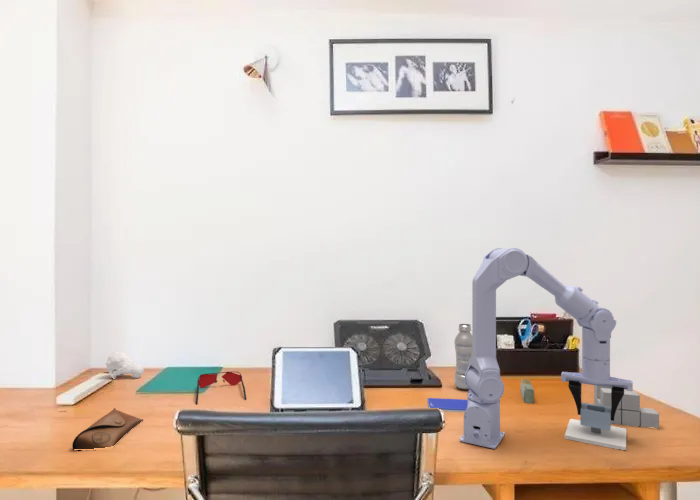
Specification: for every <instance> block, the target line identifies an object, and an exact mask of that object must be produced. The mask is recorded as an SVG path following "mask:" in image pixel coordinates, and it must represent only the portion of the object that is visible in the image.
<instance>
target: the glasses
mask: <svg viewBox="0 0 700 500" xmlns="http://www.w3.org/2000/svg"><path fill="white" fill-rule="evenodd" d="M220 374H223V375H222V376H221V378H222V381H223V383H228V385H230V386H236V385H238V384H239V383H241V386H242V389H243V390H242V391H243V398H244V401H247V395H246V393H247V392H246V388H245V385H244V381H243V375H242V373H240V372H239V371H236V372H233V371H223V372H220ZM217 378H218V372H209V373H202V374H200V375H199V377H198V378H197V380H196V382H197V385H196V395H195V396H196V397H195V405H198V403H199V393H200V392H199V390H200V389H203V388H206V387H208V386H211V385H213V384H217V383H218V380H217ZM199 388H200V389H199Z"/></svg>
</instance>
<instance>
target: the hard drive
mask: <svg viewBox="0 0 700 500" xmlns="http://www.w3.org/2000/svg"><path fill="white" fill-rule="evenodd" d="M427 405H428V406H429V407H430V408H439V409H441V410H443V411H445V412H446V411H447V412H446V413H464V412H465V410H466V409H467V399H463V398H462V399H461V398H460V399H459V398H441V397H440V398H434V397H427ZM429 407H428V408H429ZM443 411H442V412H443Z"/></svg>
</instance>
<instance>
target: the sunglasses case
mask: <svg viewBox="0 0 700 500" xmlns="http://www.w3.org/2000/svg"><path fill="white" fill-rule="evenodd" d="M141 421H142V422H143V421H144V419H142V418H139V417H136V416H134V415H131V414H128V413H125V412H124V411H120V410H119V409H118V410H117V409H116V407H115V408H113V409H112V410H110V411H109V412H108V413H106V414H105V415H104V416H102V417H100V418H99V419H97V420H96V421H95V422H94V423H92V424H91V425H89V427H87V428H86V429H84V430H82V431H81V432H80V433H78V434H77V436H75V438H74V439H73V441H72V443H71V445H72V449H73V451H74V449H94V448H105V447H111V446H114V445H115V444H116V443H117V442H118V441H119V440H120V439H121V438H122V437H123V436H124V435H125V434H126V433H127V434H128V433H130V430H131V429H132V428H133V429H134V428H135V427H136V426H138V425H139V424H140V422H141ZM142 422H141V423H142ZM138 423H139V424H138ZM137 424H138V425H137ZM133 429H132V430H133ZM132 430H131V431H132ZM127 434H126V435H127ZM126 435H125V436H126ZM125 436H124V437H125ZM124 437H123V438H124ZM123 438H122V439H123ZM122 439H121V440H122ZM121 440H120V441H121ZM118 443H119V442H118ZM118 443H117V444H118ZM117 444H116V445H117ZM116 445H115V446H116ZM115 446H114V447H115Z"/></svg>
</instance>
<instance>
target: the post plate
mask: <svg viewBox="0 0 700 500" xmlns="http://www.w3.org/2000/svg"><path fill="white" fill-rule="evenodd" d="M564 439H565V440H569V441H574V442H579V443H584V444H589V445H594V446H599V447H605V448H609V449H613V448H614V450H618V449H621V450H620V451H623V450H626V451H627V428H624V427H619V426H614V425H611V428H610V430H604V429H599V428H594V427H589V426H584V425H580V420H579V419H575V418H570V419H569V421H568V424H567V426H566V430H565V433H564Z"/></svg>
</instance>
